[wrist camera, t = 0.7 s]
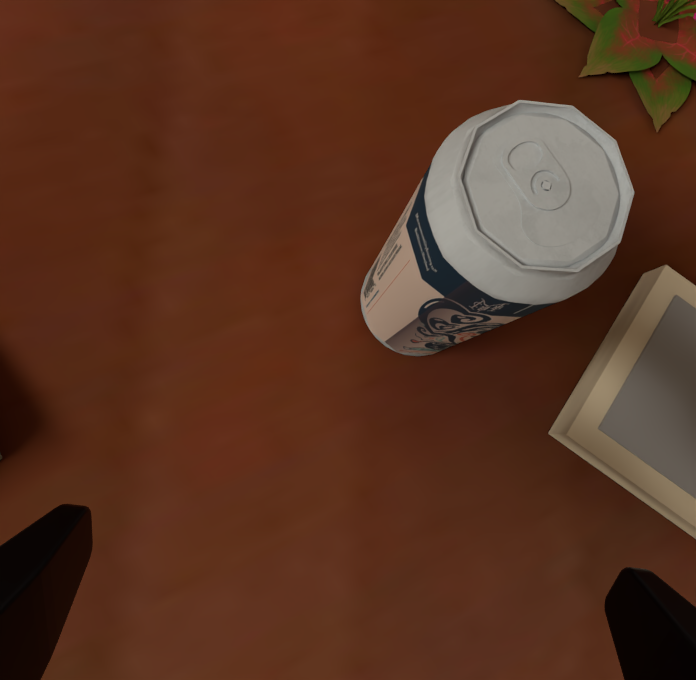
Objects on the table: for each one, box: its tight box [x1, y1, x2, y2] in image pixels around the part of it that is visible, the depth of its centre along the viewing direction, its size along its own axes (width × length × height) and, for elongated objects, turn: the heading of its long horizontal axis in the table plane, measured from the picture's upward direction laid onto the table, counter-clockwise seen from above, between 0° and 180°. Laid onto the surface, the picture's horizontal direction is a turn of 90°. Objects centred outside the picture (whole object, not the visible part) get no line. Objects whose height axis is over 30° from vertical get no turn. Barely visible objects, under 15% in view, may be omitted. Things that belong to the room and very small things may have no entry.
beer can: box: [361, 100, 634, 356], centre depth 17 cm, size 5×5×12 cm
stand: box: [548, 265, 696, 539], centre depth 23 cm, size 9×9×2 cm
